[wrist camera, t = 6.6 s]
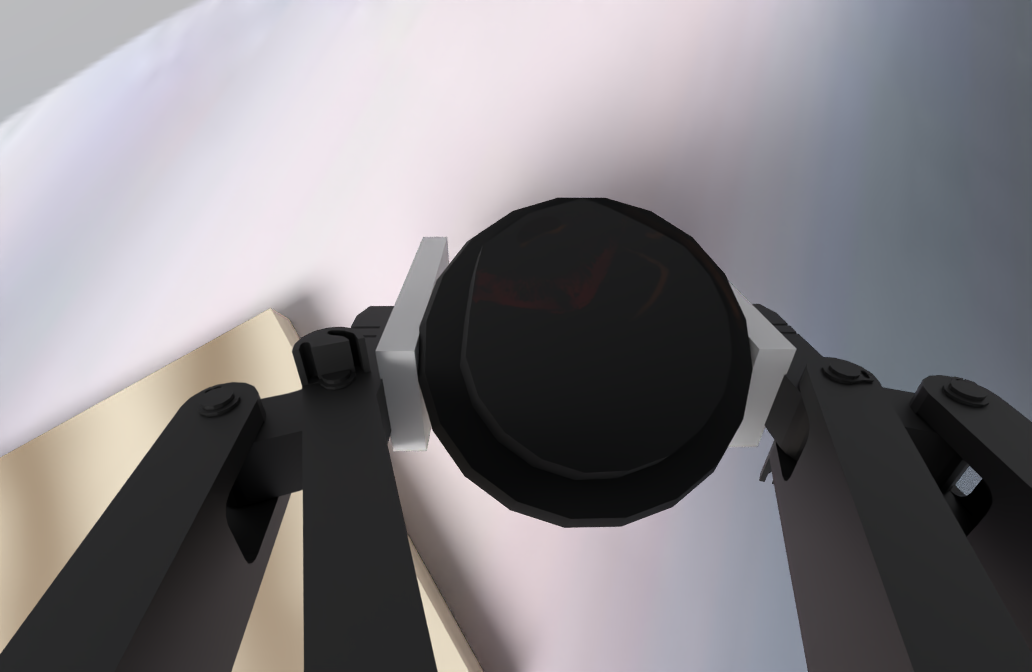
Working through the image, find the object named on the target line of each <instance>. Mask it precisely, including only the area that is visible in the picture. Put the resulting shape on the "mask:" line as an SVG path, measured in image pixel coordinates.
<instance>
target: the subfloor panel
mask: <svg viewBox="0 0 1032 672" xmlns="http://www.w3.org/2000/svg"><path fill="white" fill-rule="evenodd" d="M298 340H300V338H299V336H298V334H297V333H296V331H295V329H294V327H293V325H292V323H291V322H290V320H289V319H288V318H286V317H285V316H283V315H281V314H280V313H278V312H276V311H275V310H273V309H271V308H270V309H268V310H266V311H264V312H262V313H261V314H259V315H257V316H255V317H253V318H252V319H250V320H248V321H246V322H244V323H243V324H241V325H239V326H237V327H235V328H234V329H232V330H230V331H228V332H226V333H225V334H223V335H221V336H219V337H217V338H216V339H214V340H212V341H210V342H208V343H206V344H205V345H203V346H201V347H199V348H197V349H196V350H194V351H192V352H190V353H188V354H187V355H185V356H183V357H181V358H179V359H178V360H176V361H174V362H172V363H170V364H169V365H167V366H165V367H163V368H161V369H160V370H158V371H156V372H154V373H152V374H150V375H149V376H147V377H145V378H143V379H141V380H140V381H138V382H136V383H134V384H132V385H131V386H129V387H127V388H125V389H123V390H122V391H120V392H118V393H116V394H114V395H113V396H111V397H109V398H107V399H105V400H104V401H102V402H100V403H98V404H96V405H94V406H93V407H91V408H89V409H87V410H85V411H84V412H82V413H80V414H78V415H76V416H75V417H73V418H71V419H69V420H67V421H66V422H64V423H62V424H60V425H58V426H57V427H55V428H53V429H51V430H49V431H48V432H46V433H44V434H42V435H40V436H38V437H37V438H35V439H33V440H31V441H29V442H28V443H26V444H24V445H22V446H20V447H19V448H17V449H15V450H13V451H11V452H10V453H8V454H6V455H4V456H2V457H1V458H0V653H1V652H2V651H3V649H4V648H5V647H6V645H7V644H8V642H9V641H10V640H11V638H12V637H13V636H14V634H15V633H16V632H17V630H18V629H19V627H20V626H21V625H22V623H23V622H24V621H25V619H26V618H27V616H28V615H29V614H30V612H31V611H32V610H33V608H34V607H35V606H36V604H37V603H38V601H39V600H40V599H41V597H42V596H43V595H44V593H45V592H46V590H47V589H48V588H49V586H50V585H51V584H52V582H53V581H54V580H55V578H56V577H57V575H58V574H59V573H60V571H61V570H62V569H63V567H64V566H65V564H66V563H67V562H68V560H69V559H70V558H71V556H72V555H73V554H74V552H75V551H76V549H77V548H78V547H79V545H80V544H81V543H82V541H83V540H84V538H85V537H86V536H87V534H88V533H89V532H90V530H91V529H92V528H93V526H94V525H95V523H96V522H97V521H98V519H99V518H100V517H101V515H102V514H103V512H104V511H105V510H106V508H107V507H108V506H109V504H110V503H111V501H112V500H113V499H114V497H115V496H116V495H117V493H118V492H119V491H120V489H121V488H122V486H123V485H124V484H125V482H126V481H127V480H128V478H129V477H130V475H131V474H132V473H133V471H134V470H135V469H136V467H137V466H138V465H139V463H140V462H141V460H142V459H143V458H144V456H145V455H146V454H147V452H148V451H149V449H150V448H151V447H152V445H153V444H154V443H155V441H156V440H157V439H158V437H159V436H160V434H161V433H162V432H163V430H164V429H165V428H166V426H167V425H168V423H169V422H170V421H171V419H172V418H173V417H174V415H175V414H176V413H177V411H178V410H179V408H180V407H181V406H182V405H183V404H184V403H185V402H186V401H187V400H188V399H189V398H190V397H192V396H194V395H195V394H197V393H199V392H200V391H202V390H204V389H206V388H209V387H213V386H214V385H218V384H224V383H230V382H243V383H248V384H250V385H253V386H255V388H256V390H257V391H258V393H259V396H260V398H261V399H262V398H267V397H272V396H277V395H282V394H287V393H290V392H294V391H298V390H300V389H302V384H301V381H300V378H299V374H298V371H297V367H296V364H295V361H294V357H293V354H292V349H293V347H294V344H295V343H296V342H297V341H298ZM407 536H408V534H407ZM408 540H409V545H410V549H411V554H412V558H413V563H414V567H415V572H416V576H417V581H418V585H419V590H420V594H421V599H422V603H423V608H424V612H425V617H426V621H427V626H428V630H429V635H430V639H431V644H432V648H433V653H434V657H435V662H436V666H437V671H438V672H483V670H482V668H481V666H480V664H479V663H478V661H477V659H476V657H475V655H474V653H473V652H472V650H471V648H470V646H469V644H468V643H467V641H466V639H465V637H464V635H463V634H462V632H461V630H460V628H459V626H458V624H457V623H456V621H455V619H454V617H453V615H452V614H451V612H450V610H449V608H448V606H447V604H446V603H445V601H444V599H443V597H442V595H441V594H440V592H439V590H438V588H437V586H436V585H435V583H434V581H433V579H432V577H431V575H430V574H429V572H428V570H427V568H426V566H425V565H424V563H423V561H422V559H421V557H420V556H419V554H418V552H417V550H416V548H415V546H414V545H413V543H412V541H411V539H410V537H409V536H408ZM232 672H304V620H303V490H301V491H298V492H294V493H291V496H290V499H289V502H288V505H287V508H286V511H285V514H284V517H283V520H282V523H281V526H280V529H279V532H278V535H277V538H276V541H275V544H274V547H273V549H272V552H271V555H270V558H269V561H268V564H267V567H266V570H265V573H264V576H263V579H262V582H261V585H260V588H259V591H258V594H257V597H256V600H255V603H254V606H253V609H252V612H251V615H250V618H249V621H248V624H247V627H246V630H245V633H244V636H243V639H242V642H241V645H240V648H239V651H238V654H237V657H236V660H235V663H234V666H233V669H232Z"/></svg>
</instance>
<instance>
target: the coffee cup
mask: <svg viewBox="0 0 1032 672" xmlns="http://www.w3.org/2000/svg"><path fill="white" fill-rule="evenodd" d="M419 332H420V335H419V362H418V382H419V386H420V389H421V392H422V396H423V399H424V403H425V406H426V409H427V413H428V416H429V420H430V423H431V426H432V430H433V431H434V433H435V434H436V436H437V437H438V439H439V440H440V442H441V443H442V444H443V446H444V447H445V449H446V450H447V452H448V453H449V454H450V456H451V457H452V459H453V460H454V462H455V463H456V465H457V466H458V467H459V469H460V470H461V472H462V473H463V475H464V476H465V477H466V478H468V479H469V480H471V481H472V482H473V483H475V484H476V485H477V486H479V487H480V488H481V489H483V490H484V491H485V492H487V493H488V494H489V495H491V496H492V497H493V498H495V499H496V500H497V501H499V502H500V503H501V504H503V505H504V506H505V507H507V508H508V509H509V510H512V511H515V512H518V513H521V514H524V515H527V516H530V517H533V518H536V519H539V520H542V521H546V522H549V523H552V524H555V525H558V526H561V527H564V528H572V527H619V526H624V525H626V524H629V523H632V522H634V521H637V520H639V519H642V518H645V517H647V516H650V515H653V514H655V513H658V512H661V511H663V510H666V509H668V508H671V507H673V506H674V505H676V504H677V503H678V502H679V501H680V500H681V499H683V498H684V497H685V496H686V495H687V494H688V493H690V492H691V491H692V490H693V489H694V488H695V487H697V486H698V485H699V484H700V483H701V482H702V481H704V480H705V479H706V478H707V477H708V476H709V475H711V474H712V473H713V472H714V470H715V469H716V467H717V465H718V463H719V462H720V460H721V458H722V456H723V455H724V453H725V451H726V449H727V448H728V446H729V444H730V442H731V441H732V439H733V437H734V435H735V434H736V432H737V430H738V428H739V427H740V425H741V423H742V421H743V419H744V413H745V408H746V403H747V397H748V392H749V387H750V381H751V376H752V371H753V367H752V359H751V352H750V344H749V337H748V329H747V322H746V318H745V316H744V314H743V311H742V309H741V307H740V305H739V303H738V301H737V299H736V296H735V294H734V292H733V290H732V288H731V286H730V284H729V281H728V279H727V277H726V275H725V273H724V272H723V271H722V270H721V269H720V268H719V267H718V266H717V264H716V263H715V262H714V261H713V260H712V259H711V258H710V257H709V255H708V254H707V253H706V252H705V251H704V250H703V249H702V248H701V246H700V245H699V244H698V243H697V242H696V241H695V240H694V239H693V237H691V236H690V235H688V234H686V233H685V232H683V231H682V230H680V229H678V228H677V227H675V226H674V225H672V224H671V223H669V222H667V221H666V220H664V219H663V218H661V217H659V216H658V215H656V214H655V213H653V212H652V211H648V210H645V209H642V208H638V207H635V206H631V205H628V204H624V203H621V202H618V201H614V200H611V199H607V198H555V199H552V200H549V201H545V202H542V203H538V204H535V205H532V206H528V207H525V208H522V209H518V210H515V211H512V212H511V213H509V214H508V215H506V216H505V217H503V218H502V219H500V220H499V221H497V222H496V223H494V224H493V225H491V226H490V227H488V228H487V229H485V230H484V231H482V232H481V233H479V234H478V235H476V236H475V237H473V238H472V239H470V240H469V241H467V242H466V244H465V245H464V246H463V247H462V249H461V250H460V251H459V253H458V254H457V255H456V256H455V258H454V259H453V260H452V261H451V263H450V264H449V265H448V266H447V268H446V269H445V270H444V271H443V273H442V274H441V275H440V276H439V278H438V279H437V280H436V283H435V286H434V288H433V291H432V294H431V297H430V299H429V302H428V305H427V307H426V310H425V313H424V315H423V318H422V321H421V323H420V326H419Z"/></svg>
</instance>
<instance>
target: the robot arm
mask: <svg viewBox="0 0 1032 672" xmlns="http://www.w3.org/2000/svg"><path fill="white" fill-rule="evenodd" d="M448 265H449V255H448V241H447V237H423V239H422V241H421V244H420V246H419V248H418V251H417V253H416V256H415V258H414V260H413V263H412V265H411V267H410V270H409V272H408V275H407V277H406V279H405V282H404V284H403V287H402V289H401V291H400V294H399V296H398V298H397V301H396V303H395V306H370V307H368V308H367V309H365V310H364V311H363V312H361V313H360V314H359V315H357V317H356V318H355V320H354V322H353V324H352V326H351V328H346V327H332V328H325V329H321V330H317V331H314V332H312V333H310V334H308V335H305V336H303V337H302V338H301V339H300V340H298V341H297V342H296V343H295V344H294V347H293V349H292V354H293V357H294V361H295V364H296V367H297V371H298V374H299V378H300V381H301V384H302V389H300V390H298V391H294V392H290V393H287V394H282V395H277V396H272V397H267V398H262V399H261V398H260V396H259V393H258V391H257V390H256V388H255V386H253V385H250V384H248V383H243V382H230V383H224V384H218V385H214V386H213V387H209V388H206V389H204V390H202V391H200V392H199V393H197V394H195V395H194V396H192V397H190V398H189V399H188V400H187V401H186V402H185V403H184V404H183V405H182V406H181V407H180V408H179V410H178V411H177V413H176V414H175V415H174V417H173V418H172V419H171V421H170V422H169V423H168V425H167V426H166V428H165V429H164V430H163V432H162V433H161V434H160V436H159V437H158V439H157V440H156V441H155V443H154V444H153V445H152V447H151V448H150V449H149V451H148V452H147V454H146V455H145V456H144V458H143V459H142V460H141V462H140V463H139V465H138V466H137V467H136V469H135V470H134V471H133V473H132V474H131V475H130V477H129V478H128V480H127V481H126V482H125V484H124V485H123V486H122V488H121V489H120V491H119V492H118V493H117V495H116V496H115V497H114V499H113V500H112V501H111V503H110V504H109V506H108V507H107V508H106V510H105V511H104V512H103V514H102V515H101V517H100V518H99V519H98V521H97V522H96V523H95V525H94V526H93V528H92V529H91V530H90V532H89V533H88V534H87V536H86V537H85V538H84V540H83V541H82V543H81V544H80V545H79V547H78V548H77V549H76V551H75V552H74V554H73V555H72V556H71V558H70V559H69V560H68V562H67V563H66V564H65V566H64V567H63V569H62V570H61V571H60V573H59V574H58V575H57V577H56V578H55V580H54V581H53V582H52V584H51V585H50V586H49V588H48V589H47V590H46V592H45V593H44V595H43V596H42V597H41V599H40V600H39V601H38V603H37V604H36V606H35V607H34V608H33V610H32V611H31V612H30V614H29V615H28V616H27V618H26V619H25V621H24V622H23V623H22V625H21V626H20V627H19V629H18V630H17V632H16V633H15V634H14V636H13V637H12V638H11V640H10V641H9V642H8V644H7V645H6V647H5V648H4V649H3V651H2V652H1V653H0V672H232V669H233V666H234V663H235V660H236V657H237V654H238V651H239V648H240V645H241V642H242V639H243V636H244V633H245V630H246V627H247V624H248V621H249V618H250V615H251V612H252V609H253V606H254V603H255V600H256V597H257V594H258V591H259V588H260V585H261V582H262V579H263V576H264V573H265V570H266V567H267V564H268V561H269V558H270V555H271V552H272V549H273V547H274V544H275V541H276V538H277V535H278V532H279V529H280V526H281V523H282V520H283V517H284V514H285V511H286V508H287V505H288V502H289V499H290V496H291V493H294V492H298V491H301V490H303V620H304V672H438V671H437V666H436V662H435V657H434V653H433V648H432V644H431V639H430V635H429V630H428V626H427V621H426V617H425V612H424V608H423V603H422V599H421V594H420V590H419V585H418V581H417V576H416V572H415V567H414V563H413V558H412V554H411V549H410V545H409V540H408V536H407V531H406V527H405V522H404V518H403V513H402V509H401V504H400V500H399V495H398V491H397V486H396V482H395V477H394V473H393V468H392V464H391V459H390V455H389V450H388V446H387V444H388V441H389V437H390V436H391V442H392V448H393V451H427V446H428V441H429V436H430V430H431V423H430V420H429V416H428V413H427V409H426V406H425V403H424V399H423V396H422V392H421V389H420V386H419V382H418V362H419V335H420V332H419V326H420V323H421V321H422V318H423V315H424V313H425V310H426V307H427V305H428V302H429V299H430V297H431V294H432V291H433V288H434V286H435V283H436V280H437V279H438V278H439V276H440V275H441V274H442V273H443V271H444V270H445V269H446V268H447V266H448ZM729 284H730V286H731V288H732V290H733V292H734V294H735V296H736V299H737V301H738V303H739V305H740V307H741V309H742V311H743V314H744V316H745V318H746V322H747V329H748V337H749V344H750V352H751V359H752V367H753V371H752V376H751V381H750V387H749V392H748V397H747V403H746V408H745V413H744V419H743V421H742V423H741V425H740V427H739V428H738V430H737V432H736V434H735V435H734V437H733V439H732V441H731V442H730V444H729V446H728V447H758V444H759V442H760V439H761V437H762V434H763V432H764V429H765V427H766V428H767V430H768V431H769V433H770V434H771V435H772V437H773V438H774V442H773V445H772V447H771V450H770V452H769V454H768V457H767V459H766V461H765V464H764V466H763V469H762V471H761V473H760V479H759V481H763V482H765V480H766V477H767V475H768V474H769V473H770V472H772V476H773V482H772V484H774V487H775V492H776V498H777V503H778V509H779V514H780V520H781V525H782V531H783V536H784V542H785V547H786V553H787V558H788V564H789V569H790V575H791V580H792V586H793V591H794V597H795V602H796V608H797V613H798V619H799V624H800V630H801V635H802V641H803V646H804V652H805V657H806V663H807V668H808V672H1032V422H1031V421H1030V420H1028V419H1027V418H1026V417H1025V416H1023V415H1022V414H1021V413H1019V412H1018V411H1017V410H1016V409H1014V408H1013V407H1012V406H1011V405H1009V404H1008V403H1007V402H1005V401H1004V400H1003V399H1002V398H1000V397H999V396H997V395H996V394H994V393H992V392H991V391H989V390H988V389H986V388H983V387H981V386H979V385H977V384H976V383H975V382H972V381H969V380H966V379H965V380H963V378H958V377H949V376H942V375H936V376H928V377H927V378H925V379H923V381H922V382H921V384H920V386H919V387H918V389H917V391H916V392H915V393H911V392H905V391H900V390H894V389H888V388H883V387H882V386H881V384H880V382H879V381H878V380H877V379H876V377H875V376H874V375H873V374H872V373H870V372H869V371H867V370H866V369H864V368H862V367H861V366H858V365H856V364H853V363H851V362H849V361H845V360H841V359H837V358H830V357H822V356H821V355H820V354H819V353H818V352H817V351H816V350H815V349H814V348H813V347H812V346H811V345H810V344H809V343H808V342H807V341H805V340H804V339H803V338H802V337H801V336H800V335H799V334H796V331H795V330H794V329H793V328H792V327H791V326H787V323H786V322H785V321H784V320H783V319H782V318H781V317H780V316H779V315H778V314H777V313H775V312H773V311H772V310H770V309H768V308H766V307H764V306H762V305H760V304H751V303H750V302H749V301H748V300H747V299H746V298H745V297H744V296H743V295H742V294H741V293H740V292H739V291H738V290H737V289H736V288H735V287H734V286H733V285H732V284H731V283H730V282H729ZM969 466H971V467H972V468H973V469H974V470H975V471H976V472H977V473H978V474H979V475H980V476H981V477H982V480H981V481H980V482H979V484H978V485H977V486H976V487H975V489H974V490H973V491H972V492H971V493H970V494H969V495H967V496H966V495H965V494H964V493H962V492H961V491H960V490H959V489H958V488H957V487H956V485H955V484H956V483H957V481H958V480H959V479H960V477H961V476H962V475H963V473H964V472H965V471H966V469H967V468H968V467H969Z"/></svg>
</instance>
